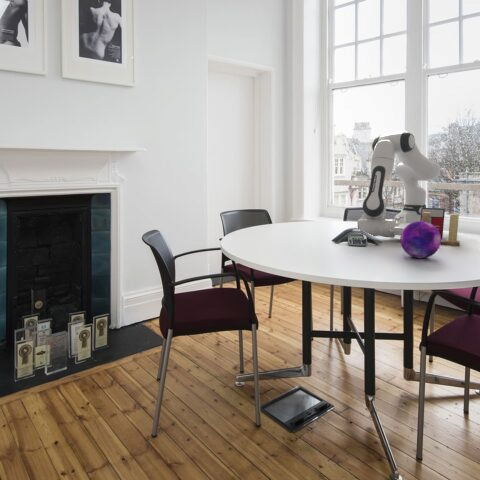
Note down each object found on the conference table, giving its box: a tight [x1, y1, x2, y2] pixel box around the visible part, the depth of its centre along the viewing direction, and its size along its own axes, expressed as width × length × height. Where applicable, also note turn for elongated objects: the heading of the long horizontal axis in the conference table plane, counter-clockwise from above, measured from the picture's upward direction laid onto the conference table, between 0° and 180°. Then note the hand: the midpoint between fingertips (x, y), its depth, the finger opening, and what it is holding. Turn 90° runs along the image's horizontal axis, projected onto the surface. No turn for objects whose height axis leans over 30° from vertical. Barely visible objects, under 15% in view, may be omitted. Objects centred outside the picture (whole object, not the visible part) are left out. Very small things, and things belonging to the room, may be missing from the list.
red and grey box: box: [420, 207, 446, 238], centre depth 228 cm, size 11×4×15 cm, turn 62°
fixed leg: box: [446, 213, 460, 243], centre depth 206 cm, size 5×5×13 cm
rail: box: [399, 237, 460, 247], centre depth 211 cm, size 26×7×2 cm, turn 65°
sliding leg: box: [422, 212, 431, 223], centre depth 211 cm, size 5×5×13 cm
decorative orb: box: [399, 221, 441, 259], centre depth 176 cm, size 15×15×15 cm
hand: (421, 230), depth 212 cm, fingers closed, pressing on sliding leg
